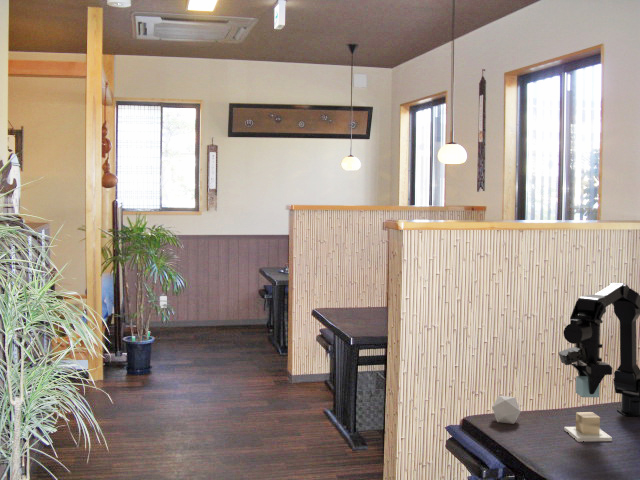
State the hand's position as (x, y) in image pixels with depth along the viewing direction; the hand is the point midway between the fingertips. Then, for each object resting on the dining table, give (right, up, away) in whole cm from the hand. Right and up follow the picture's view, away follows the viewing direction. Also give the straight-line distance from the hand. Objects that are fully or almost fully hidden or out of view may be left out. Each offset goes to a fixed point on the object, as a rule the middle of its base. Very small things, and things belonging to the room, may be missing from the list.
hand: (587, 391), depth 208 cm
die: (-21, -12, +13) cm, 27 cm away
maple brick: (0, -12, 0) cm, 12 cm away
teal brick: (0, -1, 0) cm, 1 cm away
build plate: (0, -13, 0) cm, 13 cm away
